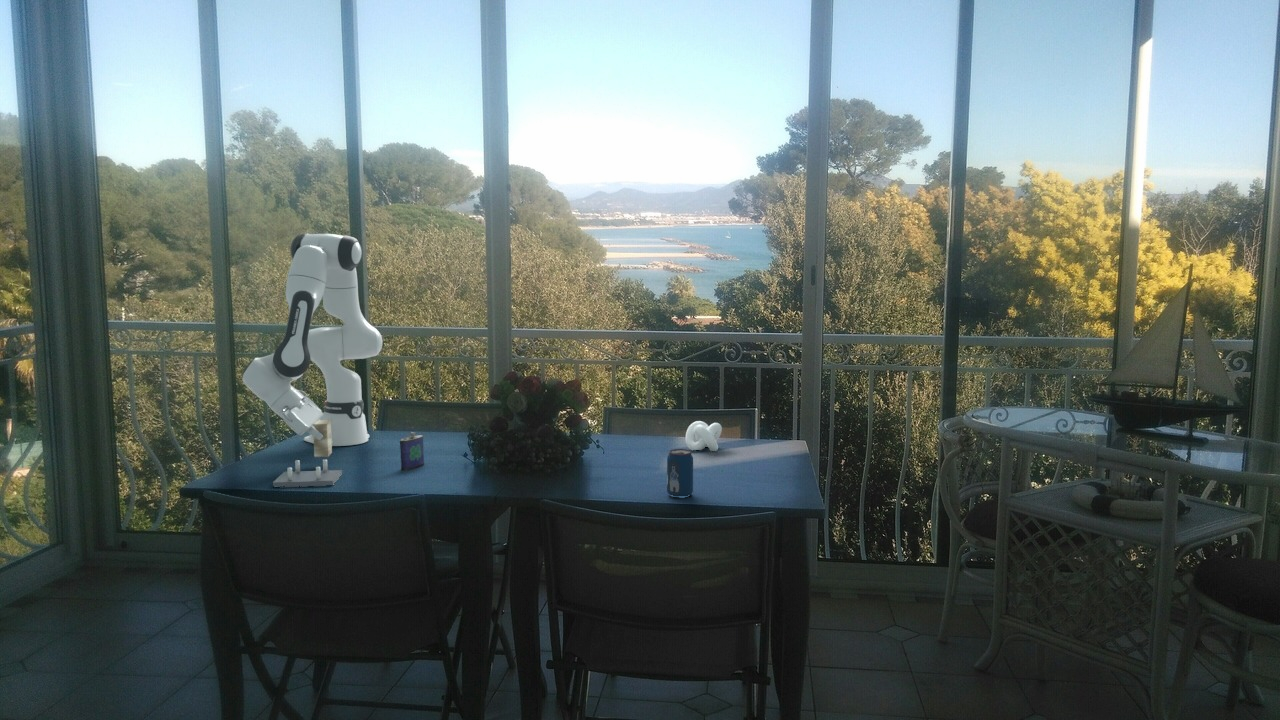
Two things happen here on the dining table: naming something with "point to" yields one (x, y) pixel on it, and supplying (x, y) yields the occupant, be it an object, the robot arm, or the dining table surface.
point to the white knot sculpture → (703, 436)
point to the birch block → (323, 439)
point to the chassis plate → (307, 477)
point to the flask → (412, 451)
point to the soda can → (680, 472)
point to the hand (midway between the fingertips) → (324, 435)
